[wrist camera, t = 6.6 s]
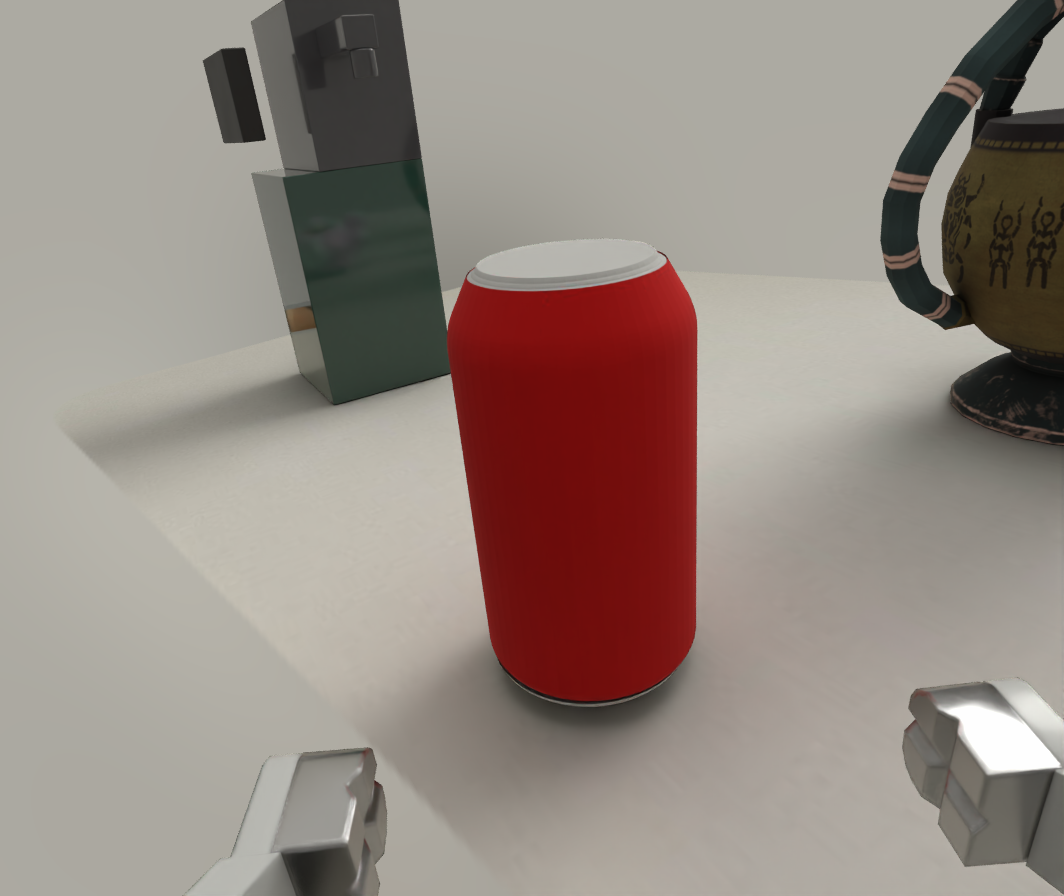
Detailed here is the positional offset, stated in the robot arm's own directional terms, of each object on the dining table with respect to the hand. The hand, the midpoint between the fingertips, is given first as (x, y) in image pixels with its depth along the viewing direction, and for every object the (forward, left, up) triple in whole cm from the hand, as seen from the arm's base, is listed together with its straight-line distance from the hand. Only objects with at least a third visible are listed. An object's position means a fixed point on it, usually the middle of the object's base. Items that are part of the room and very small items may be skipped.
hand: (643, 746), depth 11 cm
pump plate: (+4, +40, +8) cm, 41 cm away
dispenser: (+9, +37, -7) cm, 39 cm away
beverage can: (+5, +8, -7) cm, 12 cm away
